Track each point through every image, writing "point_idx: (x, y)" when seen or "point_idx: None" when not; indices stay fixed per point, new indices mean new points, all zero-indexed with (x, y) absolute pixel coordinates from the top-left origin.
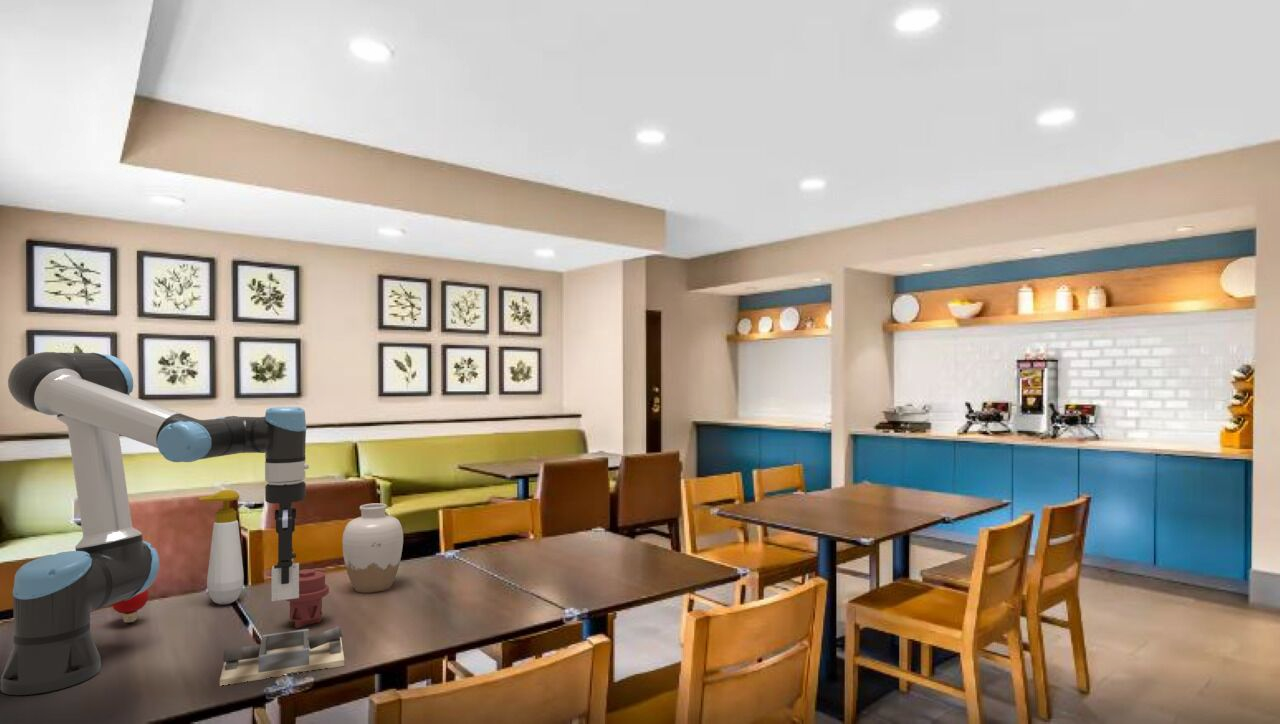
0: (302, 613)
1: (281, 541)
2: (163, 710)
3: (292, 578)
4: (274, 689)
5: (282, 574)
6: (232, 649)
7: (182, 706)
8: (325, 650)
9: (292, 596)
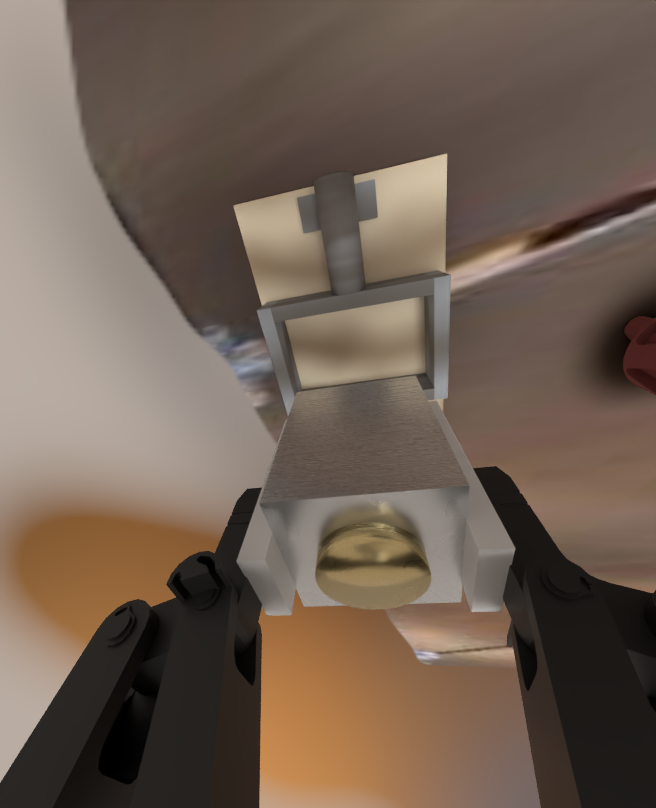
0: (649, 352)
1: None
2: (91, 79)
3: None
4: (212, 345)
5: (224, 543)
6: (330, 207)
7: (120, 137)
8: None
9: None
